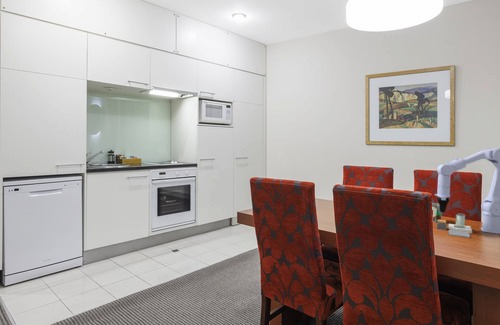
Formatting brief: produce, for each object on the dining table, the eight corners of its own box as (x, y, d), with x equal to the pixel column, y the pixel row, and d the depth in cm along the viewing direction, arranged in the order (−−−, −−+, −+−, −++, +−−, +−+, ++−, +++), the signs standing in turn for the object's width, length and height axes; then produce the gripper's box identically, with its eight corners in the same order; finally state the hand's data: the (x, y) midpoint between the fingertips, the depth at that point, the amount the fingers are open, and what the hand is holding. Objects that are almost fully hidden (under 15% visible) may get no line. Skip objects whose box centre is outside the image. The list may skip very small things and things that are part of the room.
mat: (468, 233, 167) (468, 232, 167) (470, 237, 159) (470, 236, 159) (448, 230, 171) (448, 230, 171) (448, 234, 163) (449, 234, 163)
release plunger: (445, 227, 176) (445, 220, 176) (445, 229, 173) (446, 221, 173) (437, 226, 178) (438, 219, 178) (437, 228, 175) (438, 220, 175)
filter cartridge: (463, 229, 175) (464, 213, 174) (464, 231, 171) (465, 215, 171) (455, 228, 177) (456, 212, 176) (455, 230, 173) (456, 214, 173)
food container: (447, 223, 188) (448, 206, 188) (436, 223, 188) (437, 206, 188) (435, 218, 200) (436, 202, 200) (425, 218, 201) (426, 202, 200)
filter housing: (470, 228, 176) (470, 223, 176) (471, 233, 167) (472, 227, 167) (436, 224, 184) (437, 219, 184) (437, 228, 175) (437, 223, 175)
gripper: (435, 184, 183) (434, 208, 183) (435, 187, 170) (434, 213, 171) (449, 185, 179) (448, 209, 180) (451, 188, 167) (449, 214, 167)
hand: (442, 211), depth 175 cm, fingers open, 3 cm apart
